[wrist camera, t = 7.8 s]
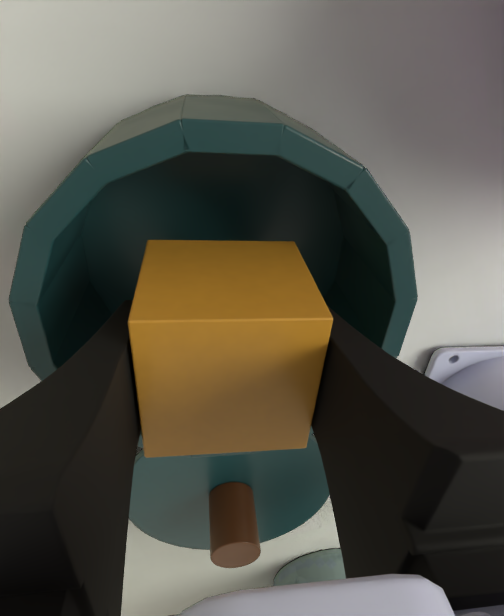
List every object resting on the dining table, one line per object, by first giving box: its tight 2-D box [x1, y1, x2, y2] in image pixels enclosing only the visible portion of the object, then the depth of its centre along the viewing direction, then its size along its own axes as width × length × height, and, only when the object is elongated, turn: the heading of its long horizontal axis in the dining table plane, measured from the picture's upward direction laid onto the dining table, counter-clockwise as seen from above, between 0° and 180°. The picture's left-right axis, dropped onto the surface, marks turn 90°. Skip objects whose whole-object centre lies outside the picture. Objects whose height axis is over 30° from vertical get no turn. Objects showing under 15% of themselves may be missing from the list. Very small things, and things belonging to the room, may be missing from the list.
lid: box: [129, 434, 330, 568], centre depth 23 cm, size 12×12×4 cm
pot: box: [9, 95, 418, 457], centre depth 14 cm, size 11×11×5 cm
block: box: [128, 240, 333, 458], centre depth 11 cm, size 4×4×4 cm
